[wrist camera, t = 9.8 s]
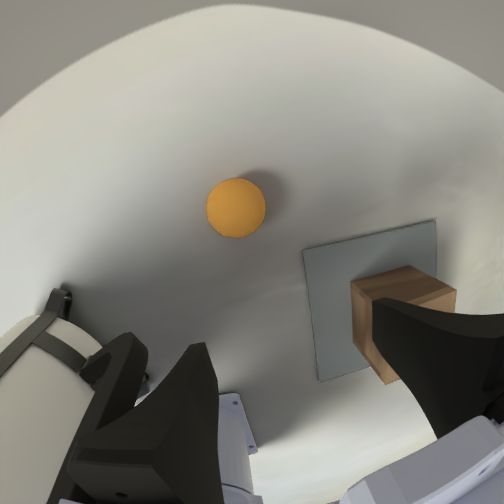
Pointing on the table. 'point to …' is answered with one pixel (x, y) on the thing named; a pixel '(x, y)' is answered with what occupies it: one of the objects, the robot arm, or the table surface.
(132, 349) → the coffee press
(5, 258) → the table surface
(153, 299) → the table surface
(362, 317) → the wooden grain cube
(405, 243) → the slate mat
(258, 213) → the orange ball
